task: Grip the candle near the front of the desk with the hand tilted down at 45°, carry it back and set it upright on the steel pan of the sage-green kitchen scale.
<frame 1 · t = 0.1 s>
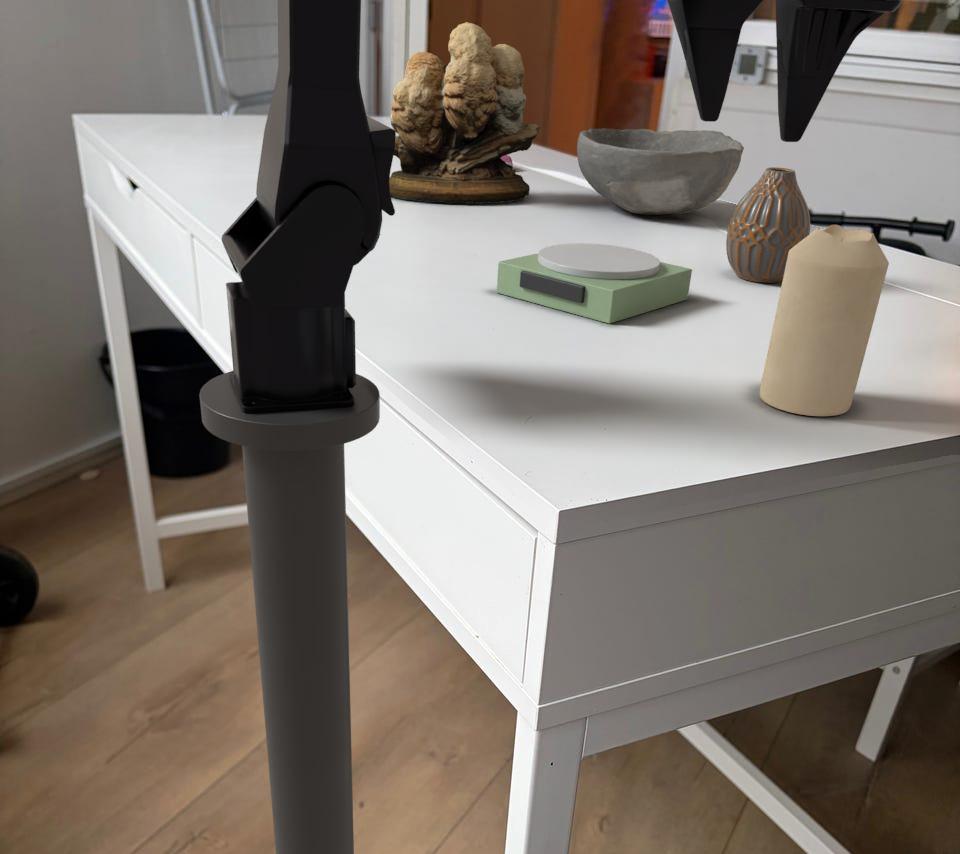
hand: (747, 130, 60), 14 cm above the table, tool pointing down, fingers open, 9 cm apart
eraser: (480, 166, 136), on the table
scale: (592, 296, 80), on the table
candle: (803, 404, 62), on the table
owl figurine: (460, 197, 116), on the table
bowl: (650, 214, 113), on the table
vase: (758, 279, 89), on the table
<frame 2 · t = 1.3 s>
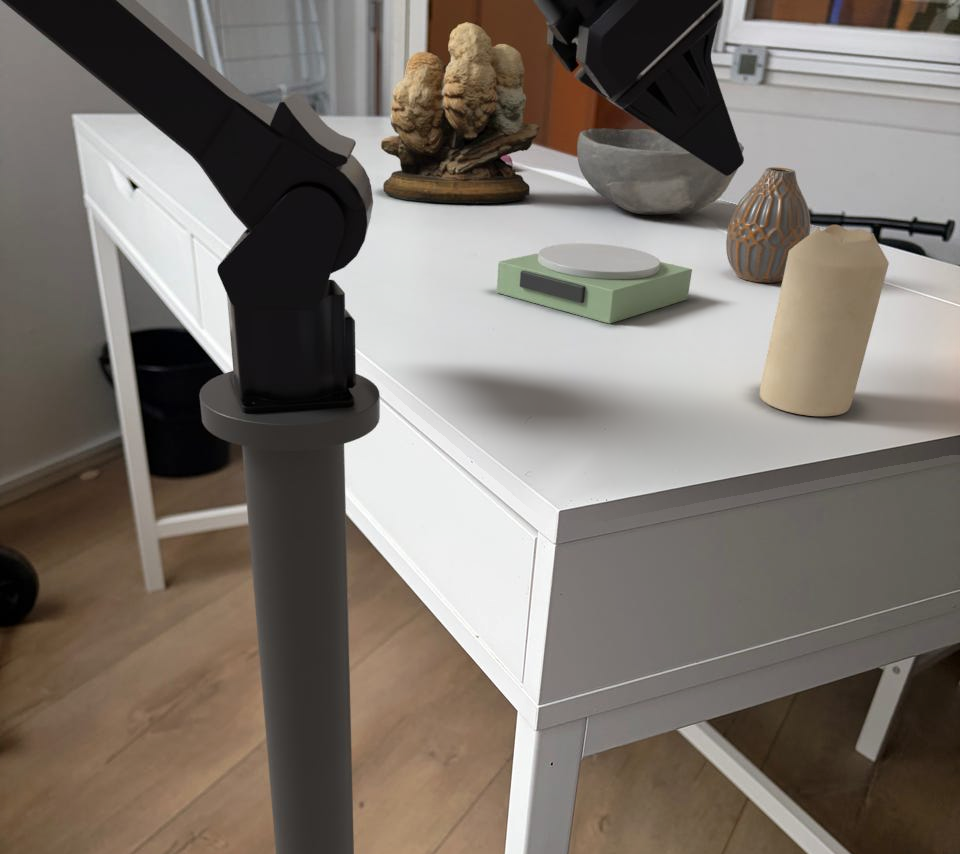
hand: (713, 155, 54), 13 cm above the table, tool tilted 45°, fingers open, 9 cm apart
nothing on the table moved.
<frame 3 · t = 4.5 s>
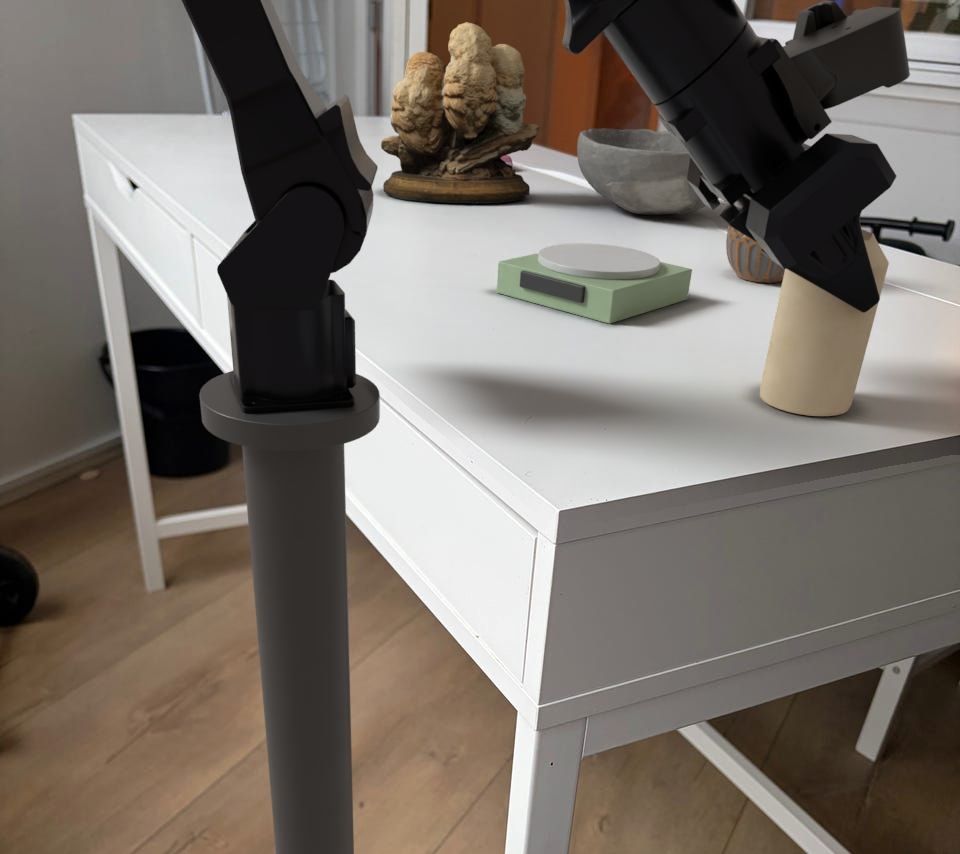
hand: (853, 293, 58), 7 cm above the table, tool tilted 45°, fingers closed on candle, 5 cm apart
candle: (803, 404, 62), on the table, touching gripper
everything else where it was.
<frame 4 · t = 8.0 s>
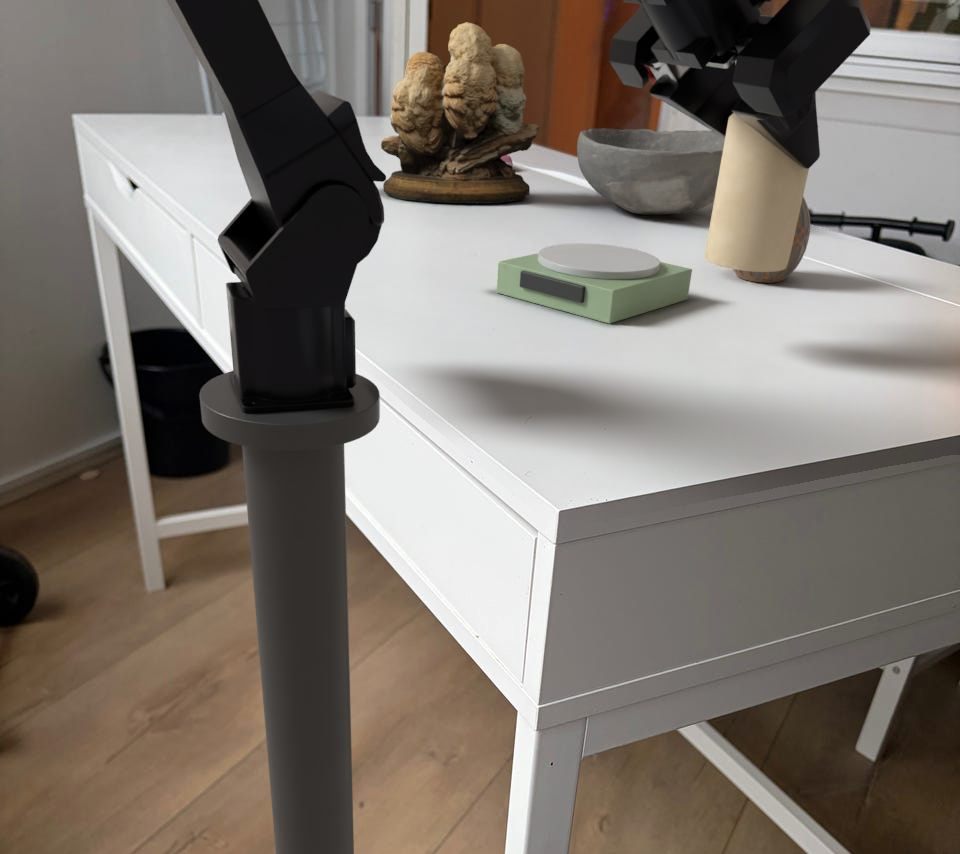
hand: (784, 155, 64), 12 cm above the table, tool tilted 45°, fingers closed on candle, 5 cm apart
candle: (744, 266, 67), point 5 cm above the table, touching gripper
everything else where it was.
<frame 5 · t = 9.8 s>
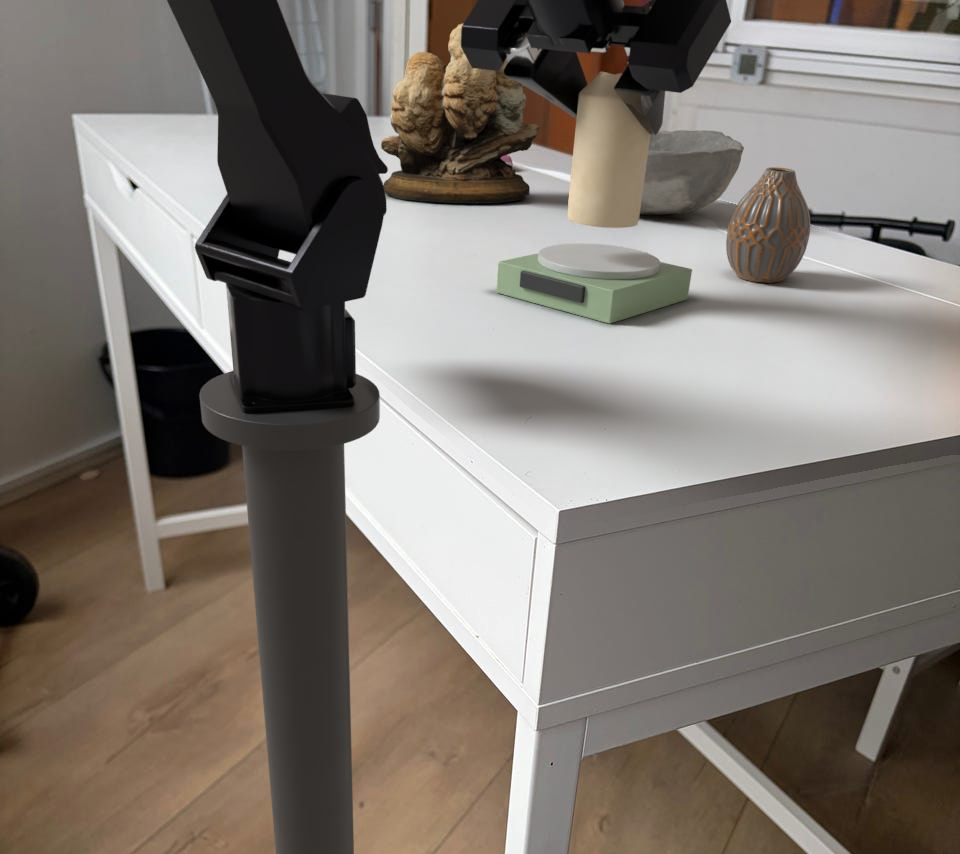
hand: (624, 125, 74), 12 cm above the table, tool tilted 45°, fingers closed on candle, 5 cm apart
candle: (602, 224, 77), point 5 cm above the table, touching gripper
everything else where it was.
when the fingers open (10 cm above the table, at t = 11.5 s): candle stays where it is, resting on scale.
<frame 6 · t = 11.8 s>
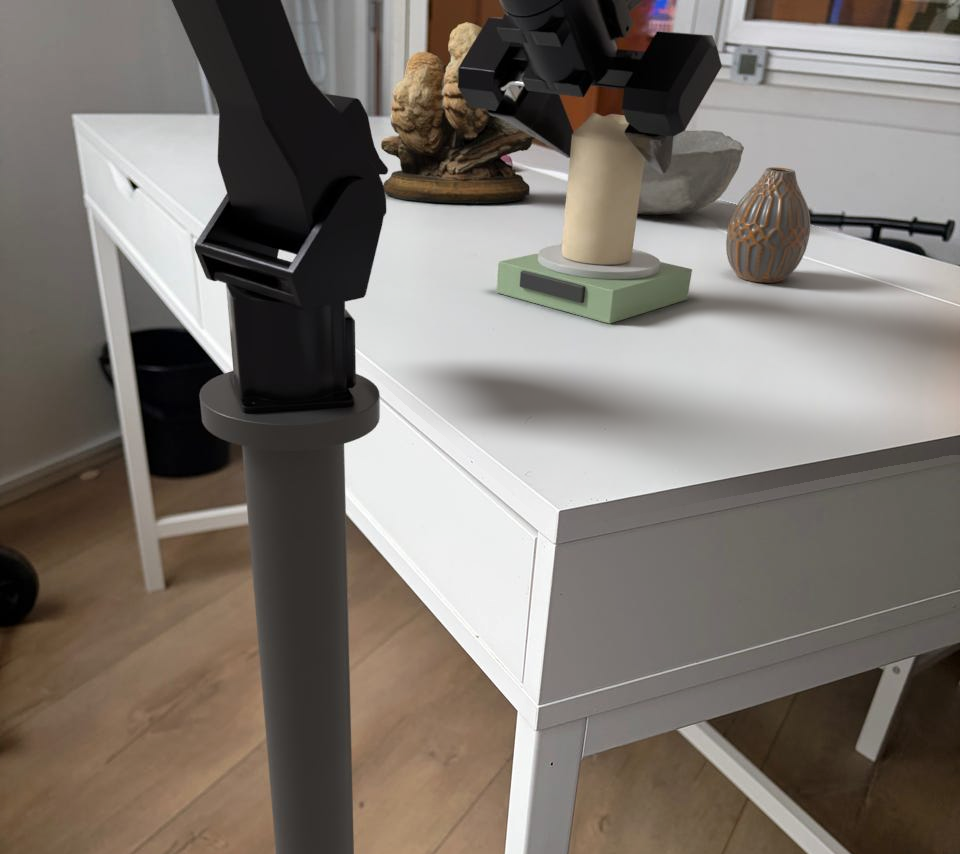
hand: (618, 160, 76), 10 cm above the table, tool tilted 45°, fingers open, 8 cm apart
candle: (595, 260, 79), point 3 cm above the table, touching scale
everything else where it was.
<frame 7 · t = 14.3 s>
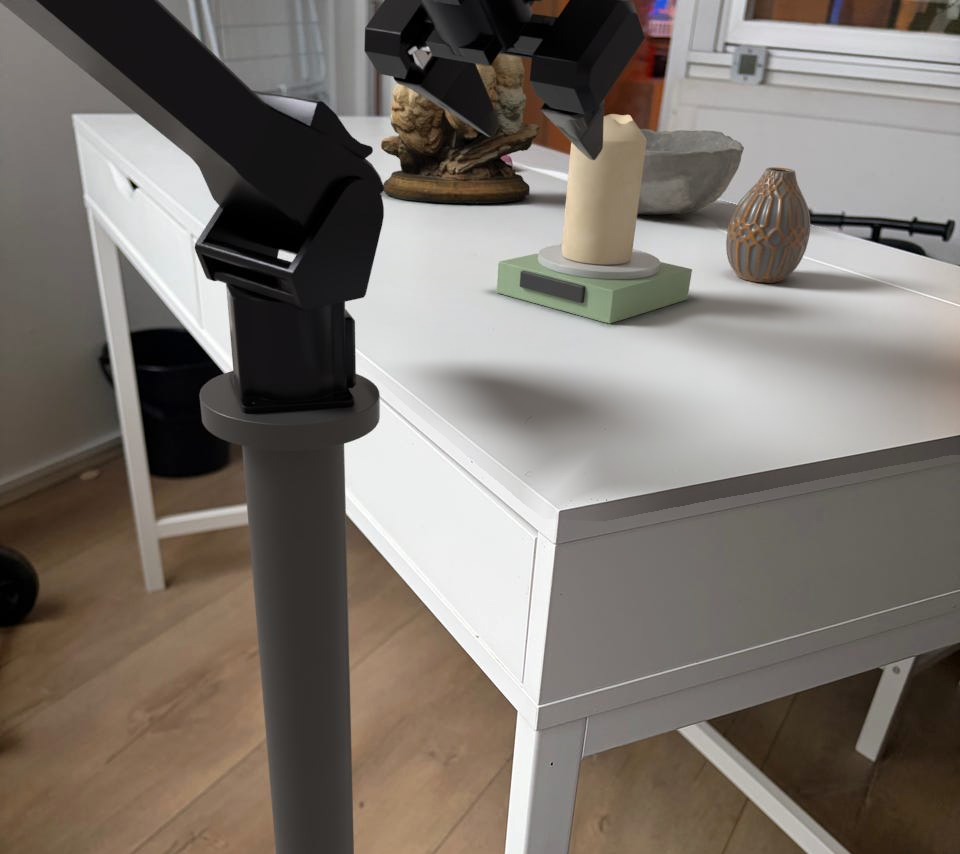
hand: (543, 142, 68), 12 cm above the table, tool tilted 45°, fingers open, 9 cm apart
nothing on the table moved.
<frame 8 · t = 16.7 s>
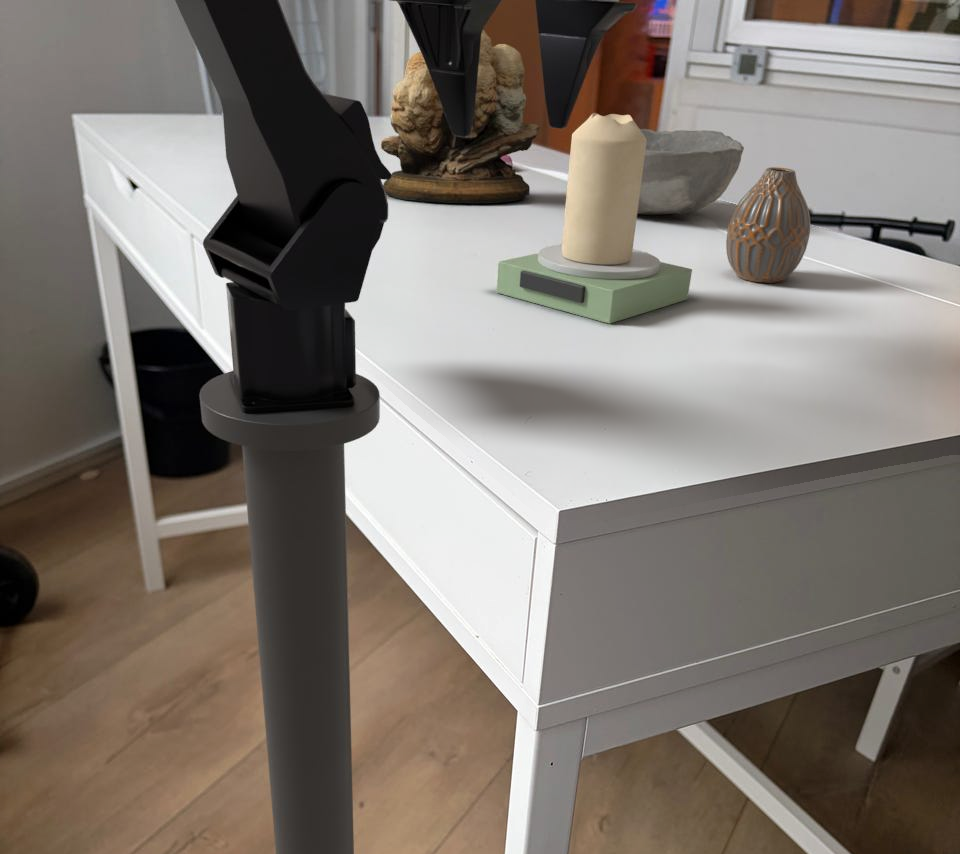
hand: (511, 132, 61), 13 cm above the table, tool pointing down, fingers open, 9 cm apart
nothing on the table moved.
at the end: candle inside the target area on the scale (0.1 cm from its centre), point 2.8 cm above the scale's base; candle tilted 0°; the gripper is holding nothing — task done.
